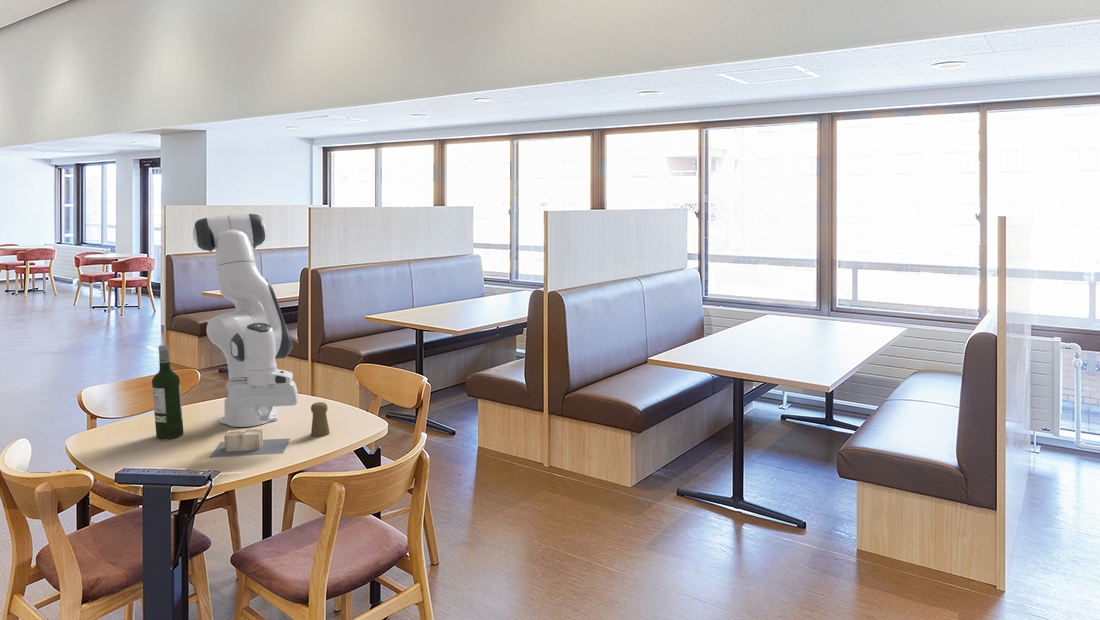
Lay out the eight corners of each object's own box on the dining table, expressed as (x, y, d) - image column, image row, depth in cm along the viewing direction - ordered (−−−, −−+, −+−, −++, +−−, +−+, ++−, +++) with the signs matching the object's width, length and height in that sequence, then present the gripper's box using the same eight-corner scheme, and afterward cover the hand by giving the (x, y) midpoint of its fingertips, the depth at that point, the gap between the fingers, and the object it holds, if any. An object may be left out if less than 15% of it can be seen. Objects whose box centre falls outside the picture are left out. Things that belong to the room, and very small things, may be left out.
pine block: (263, 444, 232) (229, 446, 230) (262, 428, 231) (228, 430, 229) (259, 449, 227) (225, 451, 225) (259, 433, 226) (224, 435, 224)
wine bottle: (151, 437, 239) (143, 346, 235) (173, 430, 246) (166, 342, 242) (166, 441, 236) (159, 349, 231) (188, 434, 243) (182, 344, 238)
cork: (309, 439, 239) (308, 406, 237) (311, 433, 245) (310, 401, 243) (329, 438, 240) (327, 405, 238) (330, 432, 246) (329, 400, 244)
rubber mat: (220, 443, 234) (220, 442, 234) (290, 440, 238) (290, 438, 238) (209, 459, 220) (209, 457, 220) (283, 455, 224) (283, 453, 224)
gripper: (223, 380, 221) (226, 425, 223) (294, 377, 225) (297, 421, 227) (228, 375, 227) (231, 418, 230) (297, 372, 231) (299, 415, 233)
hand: (264, 420), depth 228 cm, fingers closed
